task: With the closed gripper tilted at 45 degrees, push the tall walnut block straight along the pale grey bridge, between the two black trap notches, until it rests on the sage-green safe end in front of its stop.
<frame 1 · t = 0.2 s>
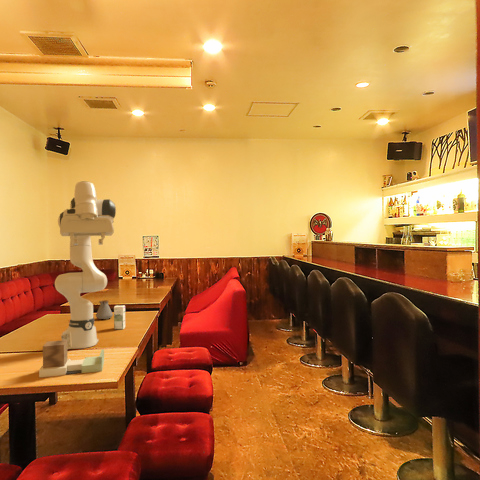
hand: (88, 244, 147), 54 cm above the table, tool tilted 30°, fingers open, 8 cm apart
syrup box: (119, 328, 235), on the table
walnut block: (55, 364, 158), point 3 cm above the table, touching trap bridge
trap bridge: (73, 369, 159), on the table
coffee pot: (104, 320, 261), on the table
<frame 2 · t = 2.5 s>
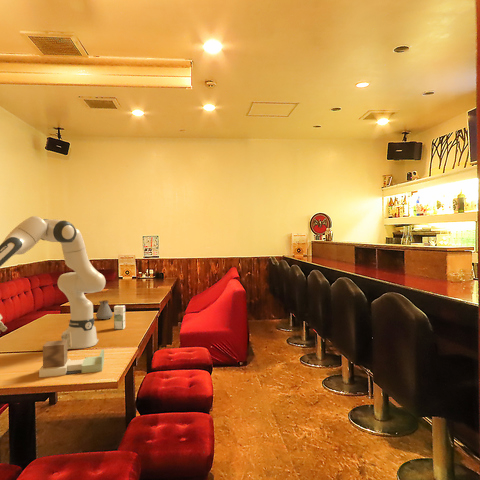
hand: (2, 332, 151), 18 cm above the table, tool tilted 45°, fingers open, 8 cm apart
nothing on the table moved.
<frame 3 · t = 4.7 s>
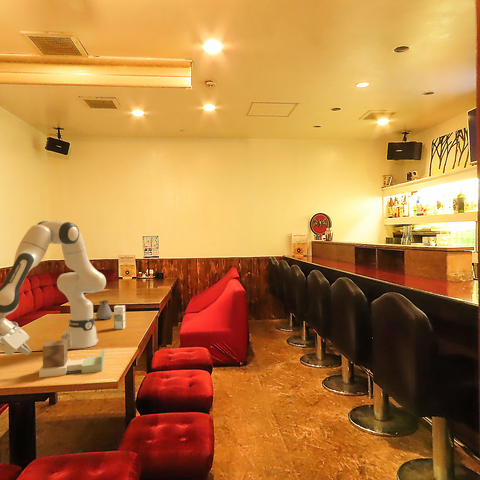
hand: (29, 353, 155), 9 cm above the table, tool tilted 45°, fingers closed
nothing on the table moved.
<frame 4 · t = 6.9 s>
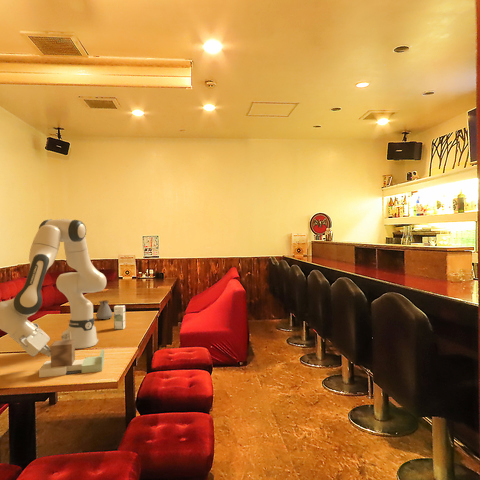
hand: (51, 354, 157), 7 cm above the table, tool tilted 45°, fingers closed
walnut block: (63, 363, 158), point 3 cm above the table, touching gripper, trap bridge
everything else where it was.
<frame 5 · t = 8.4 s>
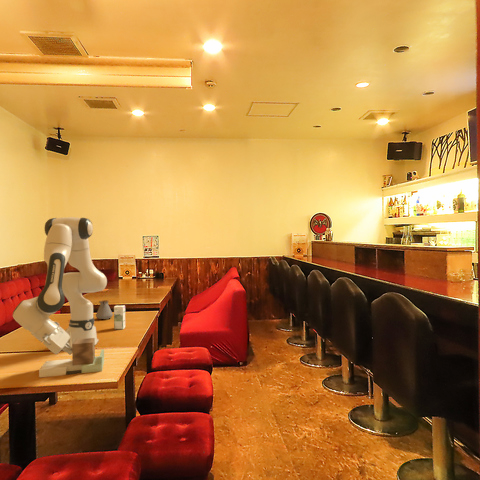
hand: (72, 352, 159), 7 cm above the table, tool tilted 45°, fingers closed, pressing on walnut block
walnut block: (84, 361, 160), point 3 cm above the table, touching gripper
everything else where it was.
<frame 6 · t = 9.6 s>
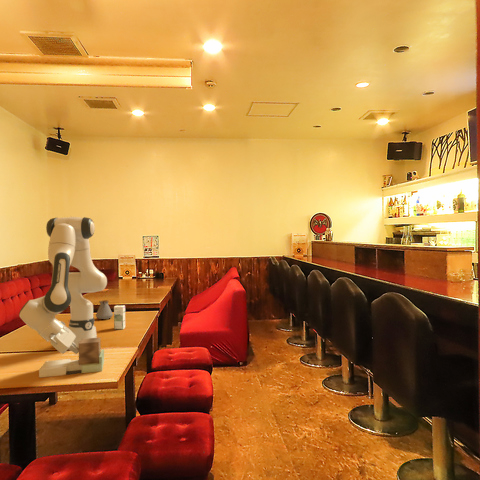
hand: (78, 351, 160), 7 cm above the table, tool tilted 45°, fingers closed, pressing on walnut block
walnut block: (90, 361, 161), point 3 cm above the table, touching gripper, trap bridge
everything else where it was.
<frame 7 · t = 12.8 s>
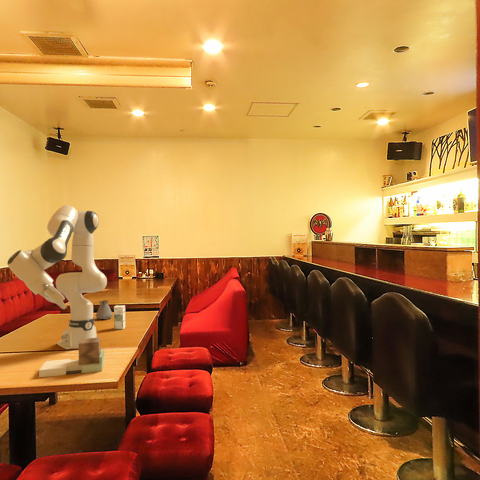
hand: (64, 308, 159), 27 cm above the table, tool tilted 40°, fingers closed
walnut block: (90, 361, 161), point 3 cm above the table, touching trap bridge
everything else where it was.
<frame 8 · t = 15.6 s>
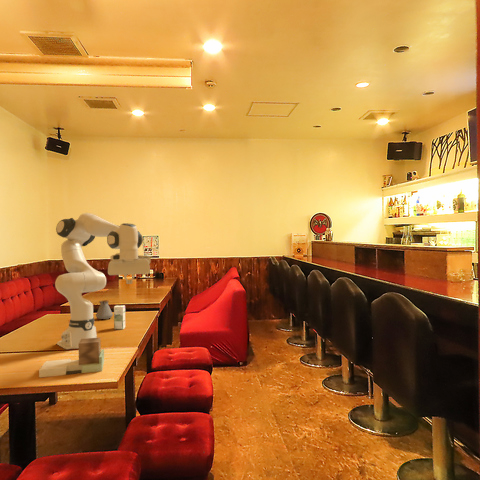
hand: (129, 283, 184), 34 cm above the table, tool pointing down, fingers closed
nothing on the table moved.
at the end: walnut block 1.1 cm from the target spot, point 3.0 cm above the table; walnut block tilted 0°; walnut block moved 13.7 cm from its start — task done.
